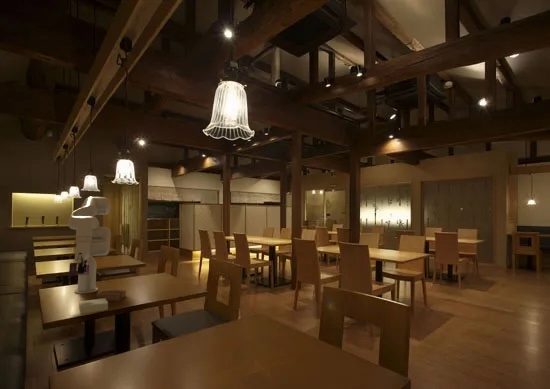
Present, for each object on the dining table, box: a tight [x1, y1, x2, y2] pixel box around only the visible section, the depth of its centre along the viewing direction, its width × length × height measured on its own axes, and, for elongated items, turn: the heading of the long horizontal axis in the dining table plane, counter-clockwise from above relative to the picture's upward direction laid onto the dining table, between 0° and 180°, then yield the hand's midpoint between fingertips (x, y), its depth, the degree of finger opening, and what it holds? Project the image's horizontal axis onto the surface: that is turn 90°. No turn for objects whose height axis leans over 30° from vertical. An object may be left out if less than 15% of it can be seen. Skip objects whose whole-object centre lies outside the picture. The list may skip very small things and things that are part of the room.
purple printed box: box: [68, 262, 89, 277], centre depth 170 cm, size 7×5×9 cm
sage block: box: [78, 298, 109, 315], centre depth 161 cm, size 10×12×4 cm
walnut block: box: [95, 289, 127, 302], centre depth 180 cm, size 10×12×4 cm
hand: (82, 272), depth 170 cm, fingers closed on purple printed box, 4 cm apart
